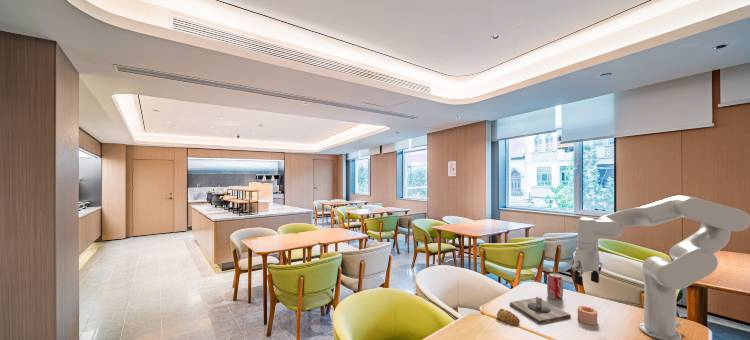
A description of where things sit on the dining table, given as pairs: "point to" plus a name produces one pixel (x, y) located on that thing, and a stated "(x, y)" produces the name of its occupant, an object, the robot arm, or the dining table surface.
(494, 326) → the dining table surface
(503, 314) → the brown ridged oval piece
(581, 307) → the ring
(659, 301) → the robot arm
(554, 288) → the soda can
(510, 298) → the dining table surface
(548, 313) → the post stand
